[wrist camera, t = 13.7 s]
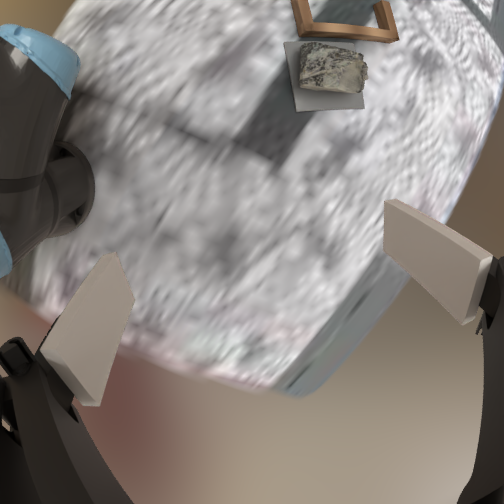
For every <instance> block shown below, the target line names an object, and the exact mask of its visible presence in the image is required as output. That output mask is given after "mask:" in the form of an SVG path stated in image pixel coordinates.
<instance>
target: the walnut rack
mask: <svg viewBox="0 0 504 504" xmlns="http://www.w3.org/2000/svg"><path fill="white" fill-rule="evenodd" d="M291 4H292V8H293V12H294V17H295V21H296V25H297V30H298V34H299V37H333V38H348V39H360V40H369V41H377V42H384V43H392V42H395V41H398V40H399V36H398V32H397V28H396V24H395V20H394V17H393V13H392V10H391V6H390V3H389V2H387V1H383V0H381V1H380V2H378V3H376V4H374V5H373V8H374V11H375V15H376V18H377V22H378V26H379V29H378V28H372V27H364V26H356V25H347V24H335V23H316V22H313V19H312V15H311V11H310V7H309V3H308V0H291Z"/></svg>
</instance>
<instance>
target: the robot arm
mask: <svg viewBox="0 0 504 504" xmlns="http://www.w3.org/2000/svg"><path fill="white" fill-rule="evenodd" d="M79 70H80V59H79V57H78V55H77V54H76V53H75V51H73V50H72V49H71V48H70V47H68V46H67V45H65V44H64V43H62V42H60V41H59V40H57V39H55V38H53V37H51V36H49V35H46V34H44V33H42V32H39V31H36V30H34V29H30V28H24V27H21V26H18V25H15V24H4V25H2V26H0V278H2V277H3V276H5V275H7V274H9V273H10V271H11V269H12V268H13V267H15V266H16V265H17V264H18V263H19V262H20V261H21V260H22V259H23V258H24V257H25V256H26V255H27V254H28V253H29V252H31V251H32V250H33V249H34V248H35V247H36V246H37V245H38V244H40V243H41V242H42V241H43V240H44V239H45V238H51V237H57V236H62V235H65V234H67V233H70V232H71V231H73V230H74V229H75V228H76V227H78V226H79V225H80V224H81V223H82V222H83V221H84V220H85V219H86V217H87V216H88V214H89V212H90V210H91V207H92V204H93V200H94V192H95V186H94V177H93V173H92V170H91V167H90V165H89V162H88V161H87V159H86V157H85V156H84V155H83V153H82V152H81V151H80V150H79V149H78V148H76V147H75V146H73V145H72V144H70V143H67V142H63V141H54V139H55V136H56V132H57V129H58V127H59V124H60V121H61V118H62V115H63V113H64V110H65V107H66V105H67V102H68V101H70V98H71V91H72V88H73V85H74V83H75V80H76V78H77V75H78V73H79ZM383 251H384V252H385V253H386V254H387V255H389V256H390V257H391V258H392V259H393V260H394V261H395V262H397V263H398V264H399V265H400V266H401V267H402V268H403V269H404V270H405V271H407V272H408V273H409V274H410V275H411V276H412V277H413V278H414V279H415V280H417V281H418V282H419V283H420V284H421V285H422V286H423V287H424V288H425V289H426V290H427V291H428V292H429V293H430V294H431V295H432V296H433V297H434V298H435V299H436V300H437V301H438V302H439V303H440V304H441V305H443V307H444V308H445V309H446V310H447V311H449V313H450V314H451V315H452V316H453V317H454V318H455V319H456V320H457V321H458V322H459V323H460V324H461V325H464V324H466V323H468V322H470V321H472V320H474V319H475V316H476V313H477V310H478V307H479V306H480V307H481V308H482V309H483V310H484V311H483V314H482V317H481V320H480V322H479V325H478V327H477V330H476V334H477V335H478V333H479V330H480V329H481V328H482V333H481V335H483V349H484V392H483V408H482V419H481V428H480V435H479V442H478V448H477V454H476V459H475V464H474V469H473V473H472V476H471V478H470V480H469V482H468V483H467V485H466V486H465V488H464V489H463V491H462V493H461V495H460V497H459V499H458V502H457V504H504V256H503V257H501V258H500V259H499V260H498V259H496V258H495V257H494V256H493V255H491V254H490V253H489V252H487V251H486V250H484V249H482V248H481V247H480V246H478V245H476V244H475V243H473V242H472V241H470V240H469V239H467V238H465V237H464V236H462V235H460V234H459V233H457V232H455V231H454V230H452V229H451V228H449V227H447V226H445V225H444V224H442V223H440V222H438V221H437V220H435V219H433V218H431V217H430V216H428V215H426V214H424V213H422V212H420V211H419V210H417V209H415V208H413V207H411V206H409V205H407V204H405V203H403V202H401V201H399V200H397V199H393V200H386V201H384V239H383ZM134 302H135V298H134V296H133V293H132V291H131V289H130V286H129V284H128V281H127V279H126V276H125V274H124V271H123V268H122V266H121V263H120V260H119V258H118V255H117V252H113V253H109V254H105V255H103V256H102V257H101V258H100V260H99V261H98V262H97V264H96V265H95V266H94V268H93V269H92V270H91V272H90V273H89V274H88V276H87V277H86V279H85V280H84V281H83V283H82V284H81V286H80V287H79V288H78V290H77V291H76V293H75V294H74V296H73V297H72V299H71V300H70V302H69V303H68V305H67V306H66V308H65V309H64V311H63V312H62V314H61V315H60V316H59V317H58V318H57V319H56V320H55V322H54V323H53V325H52V326H51V329H50V330H49V331H48V333H47V336H45V338H44V339H43V341H42V343H41V344H40V346H39V348H38V350H37V351H36V353H35V355H33V354H32V352H31V351H30V350H29V348H28V347H27V345H26V343H25V342H24V340H23V339H22V338H21V337H15V338H12V339H10V340H8V341H7V342H6V343H4V345H2V346H1V348H0V365H1V366H2V368H3V369H4V370H5V371H6V373H7V374H8V375H9V376H8V377H4V378H2V377H1V375H0V504H134V503H133V502H132V500H130V498H129V496H128V495H127V494H126V492H125V491H124V490H123V488H122V487H121V485H120V484H119V483H118V481H117V480H116V478H115V477H114V475H113V474H112V472H111V470H110V469H109V467H108V466H107V464H106V463H105V461H104V459H103V458H102V456H101V454H100V453H99V451H98V449H97V447H96V446H95V444H94V442H93V440H92V438H91V437H90V435H89V433H88V431H87V429H86V427H85V425H84V423H83V421H82V419H81V417H80V415H79V413H78V411H77V409H76V408H75V407H74V405H73V404H72V400H73V397H74V396H75V397H76V398H77V399H78V400H79V402H80V403H81V404H82V405H83V406H100V403H101V400H102V396H103V393H104V390H105V386H106V383H107V380H108V376H109V373H110V370H111V367H112V364H113V361H114V357H115V355H116V352H117V349H118V346H119V343H120V340H121V337H122V334H123V331H124V329H125V326H126V323H127V321H128V318H129V315H130V313H131V310H132V307H133V305H134ZM2 419H3V420H4V421H5V422H6V423H7V424H8V425H9V426H10V432H9V431H8V430H7V429H6V428H4V427H3V426H2Z"/></svg>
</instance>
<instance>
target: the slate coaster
mask: <svg viewBox="0 0 504 504" xmlns="http://www.w3.org/2000/svg"><path fill="white" fill-rule="evenodd" d="M311 42H315V41H302V42H284V48H285V53H286V58H287V63H288V69H289V74H290V80H291V86H292V92H293V98H294V104H295V111H296V112H301V111H314V110H331V109H365V107H364V100H363V93H362V91H361V93H346V92H335V91H327V90H321V91H316V90H309V89H306V88H301V87H300V86H299V78H300V70H301V68H300V47H301V45H302V44H304V43H311ZM319 43H322V44H327V45H329V46H336V47H339V48H344V49H348V50H351V51H354V52H355V47H354V43H343V42H319Z"/></svg>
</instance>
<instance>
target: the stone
mask: <svg viewBox="0 0 504 504" xmlns="http://www.w3.org/2000/svg"><path fill="white" fill-rule="evenodd" d="M363 57H364V56H363V55H362V54H361V53H357V52H354V51H351V50H348V49H344V48H339V47H336V46H329V45H327V44H322V43H319V42H311V43H304V44H302V45H301V47H300V68H301V70H300V78H299V86H300V87H301V88H306V89H309V90H316V91H321V90H327V91H335V92H346V93H361V91H362V90H363V89H364V84H365V83H364V81H365V80H367V79H368V75H367V70H368V67H367V64H366V63H365V62H364V61H363Z"/></svg>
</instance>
